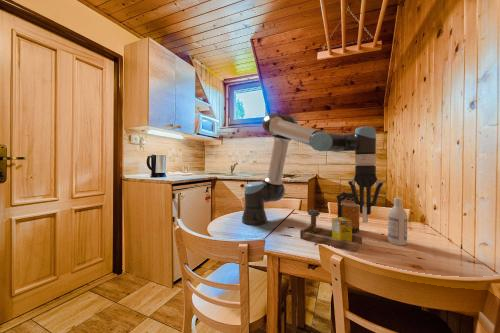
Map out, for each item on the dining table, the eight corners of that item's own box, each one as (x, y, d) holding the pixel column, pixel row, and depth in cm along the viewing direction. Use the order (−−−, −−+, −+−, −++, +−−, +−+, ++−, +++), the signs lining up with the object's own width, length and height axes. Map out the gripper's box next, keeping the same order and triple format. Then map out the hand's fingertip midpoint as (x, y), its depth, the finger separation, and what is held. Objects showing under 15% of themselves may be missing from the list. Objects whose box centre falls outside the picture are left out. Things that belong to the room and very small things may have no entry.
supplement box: (352, 245, 93) (352, 220, 93) (340, 246, 92) (340, 221, 91) (343, 240, 99) (343, 216, 98) (331, 241, 97) (331, 217, 97)
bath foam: (402, 240, 98) (403, 197, 97) (410, 246, 91) (411, 199, 91) (385, 239, 100) (386, 196, 99) (391, 245, 93) (392, 199, 92)
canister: (361, 233, 107) (362, 193, 106) (338, 232, 109) (338, 193, 109) (356, 228, 116) (356, 191, 115) (334, 227, 118) (335, 190, 117)
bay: (295, 237, 103) (295, 213, 103) (308, 229, 115) (309, 208, 114) (355, 252, 86) (355, 224, 86) (363, 240, 98) (364, 216, 97)
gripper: (345, 165, 90) (346, 221, 90) (382, 165, 81) (382, 227, 82) (350, 164, 95) (350, 217, 96) (385, 164, 87) (385, 222, 88)
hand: (365, 221), depth 89 cm, fingers closed
